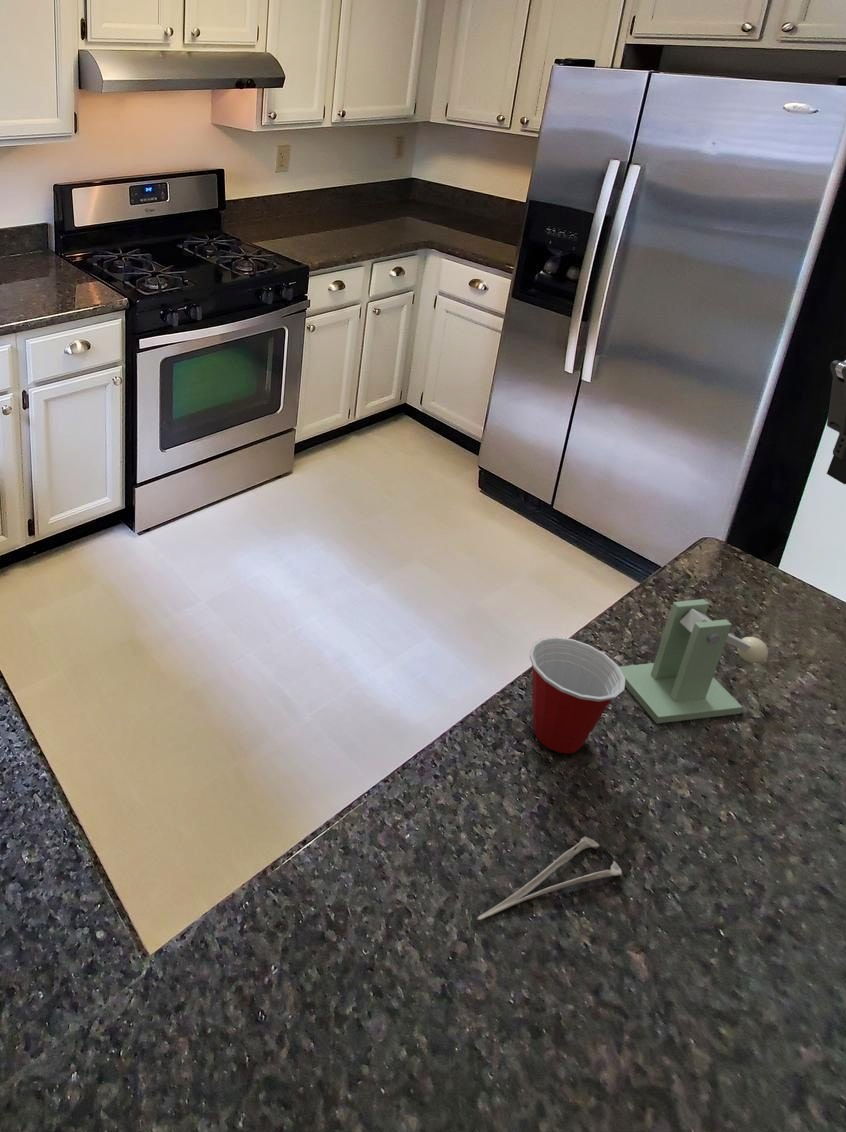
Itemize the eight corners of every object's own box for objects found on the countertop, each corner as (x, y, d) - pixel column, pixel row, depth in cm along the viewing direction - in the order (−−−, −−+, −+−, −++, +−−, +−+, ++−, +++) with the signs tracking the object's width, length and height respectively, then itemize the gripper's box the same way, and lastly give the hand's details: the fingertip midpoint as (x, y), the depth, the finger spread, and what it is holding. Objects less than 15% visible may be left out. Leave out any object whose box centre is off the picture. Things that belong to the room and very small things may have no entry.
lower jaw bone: (588, 839, 89) (591, 828, 88) (623, 878, 85) (627, 866, 84) (461, 906, 84) (462, 894, 83) (492, 950, 80) (494, 938, 79)
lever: (741, 653, 109) (759, 636, 108) (761, 671, 106) (779, 653, 105) (673, 621, 105) (691, 602, 104) (691, 639, 102) (710, 619, 100)
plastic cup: (625, 751, 100) (647, 678, 94) (563, 783, 95) (583, 709, 90) (554, 692, 108) (572, 623, 103) (495, 719, 104) (510, 649, 99)
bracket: (692, 664, 113) (719, 586, 107) (740, 713, 105) (772, 632, 99) (613, 673, 111) (636, 594, 106) (656, 723, 103) (683, 641, 98)
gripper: (926, 294, 98) (859, 460, 108) (831, 299, 96) (772, 468, 107) (989, 313, 91) (912, 489, 101) (888, 320, 90) (819, 497, 100)
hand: (840, 478), depth 104 cm, fingers closed
